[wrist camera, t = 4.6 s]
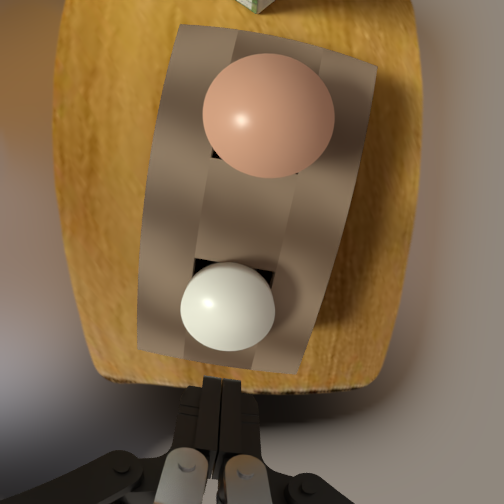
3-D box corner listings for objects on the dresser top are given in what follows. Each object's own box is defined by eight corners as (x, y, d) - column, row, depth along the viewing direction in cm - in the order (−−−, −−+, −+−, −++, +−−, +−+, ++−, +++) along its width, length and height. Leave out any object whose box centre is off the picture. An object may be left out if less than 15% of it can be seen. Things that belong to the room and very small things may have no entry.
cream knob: (202, 228, 23) (185, 262, 16) (273, 241, 24) (285, 279, 17) (193, 292, 25) (177, 342, 18) (258, 303, 25) (263, 356, 19)
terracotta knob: (226, 80, 17) (217, 44, 10) (309, 97, 18) (344, 71, 11) (210, 160, 19) (191, 165, 12) (293, 176, 19) (320, 190, 13)
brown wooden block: (195, 53, 19) (179, 24, 13) (346, 84, 20) (377, 66, 14) (156, 309, 26) (137, 349, 20) (286, 331, 27) (296, 374, 21)
